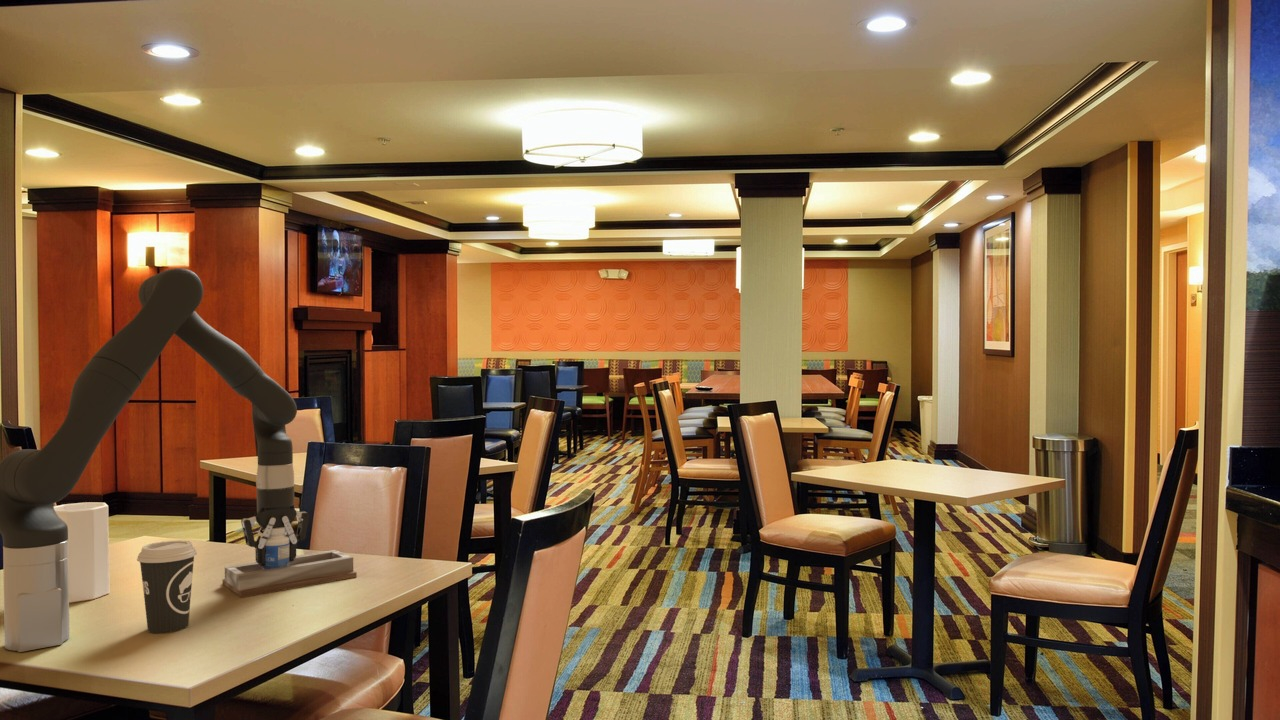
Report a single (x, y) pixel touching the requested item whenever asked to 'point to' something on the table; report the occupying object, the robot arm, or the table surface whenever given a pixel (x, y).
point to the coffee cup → (167, 584)
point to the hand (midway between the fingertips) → (276, 562)
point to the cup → (87, 549)
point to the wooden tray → (289, 573)
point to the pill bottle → (276, 549)
